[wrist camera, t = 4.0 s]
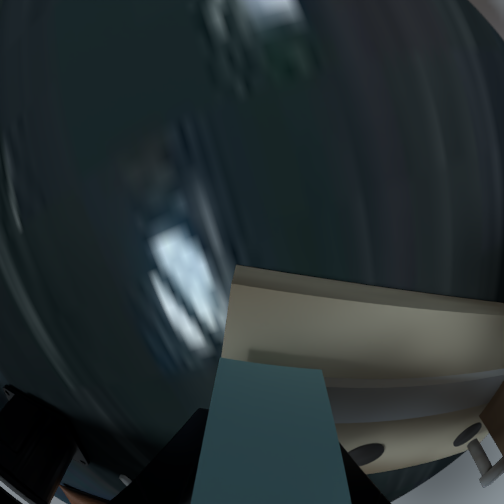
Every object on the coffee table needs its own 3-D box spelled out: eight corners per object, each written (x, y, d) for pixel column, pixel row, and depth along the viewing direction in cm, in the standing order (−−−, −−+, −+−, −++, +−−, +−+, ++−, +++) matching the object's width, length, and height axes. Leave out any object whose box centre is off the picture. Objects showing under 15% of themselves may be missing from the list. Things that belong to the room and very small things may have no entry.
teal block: (273, 474, 10) (273, 565, 5) (206, 467, 10) (191, 559, 5) (321, 369, 8) (355, 523, 3) (220, 357, 8) (187, 521, 3)
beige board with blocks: (469, 433, 13) (501, 495, 6) (210, 449, 13) (192, 558, 6) (546, 307, 10) (609, 362, 3) (236, 264, 9) (189, 463, 3)
